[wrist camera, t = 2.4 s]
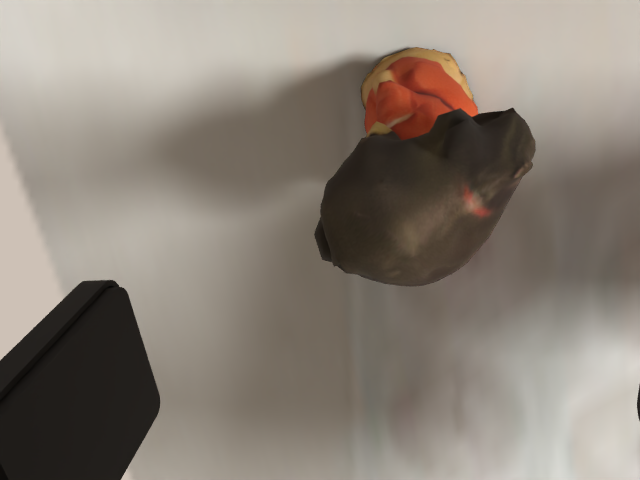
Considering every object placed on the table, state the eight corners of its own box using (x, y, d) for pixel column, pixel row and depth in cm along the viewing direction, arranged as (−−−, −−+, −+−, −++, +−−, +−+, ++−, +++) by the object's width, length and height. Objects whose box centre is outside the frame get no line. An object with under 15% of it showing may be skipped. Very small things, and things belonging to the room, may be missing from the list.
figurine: (389, 16, 24) (355, 66, 13) (512, 68, 24) (575, 158, 13) (335, 150, 27) (273, 277, 16) (445, 195, 27) (453, 351, 16)
